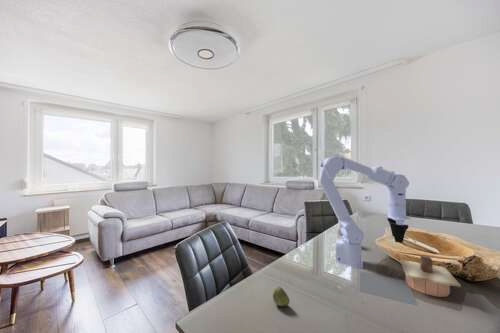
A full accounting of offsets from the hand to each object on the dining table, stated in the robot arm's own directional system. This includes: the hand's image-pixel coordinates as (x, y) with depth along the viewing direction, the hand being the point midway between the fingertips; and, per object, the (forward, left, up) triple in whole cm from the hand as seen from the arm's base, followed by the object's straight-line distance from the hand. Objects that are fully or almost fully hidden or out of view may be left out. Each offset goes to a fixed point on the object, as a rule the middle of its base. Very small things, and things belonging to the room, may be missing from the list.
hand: (397, 239), depth 80 cm
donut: (-20, +16, -11) cm, 28 cm away
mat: (-6, -20, -10) cm, 23 cm away
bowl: (+6, -14, -10) cm, 18 cm away
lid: (+6, -14, -6) cm, 16 cm away
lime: (-32, -44, -11) cm, 55 cm away
